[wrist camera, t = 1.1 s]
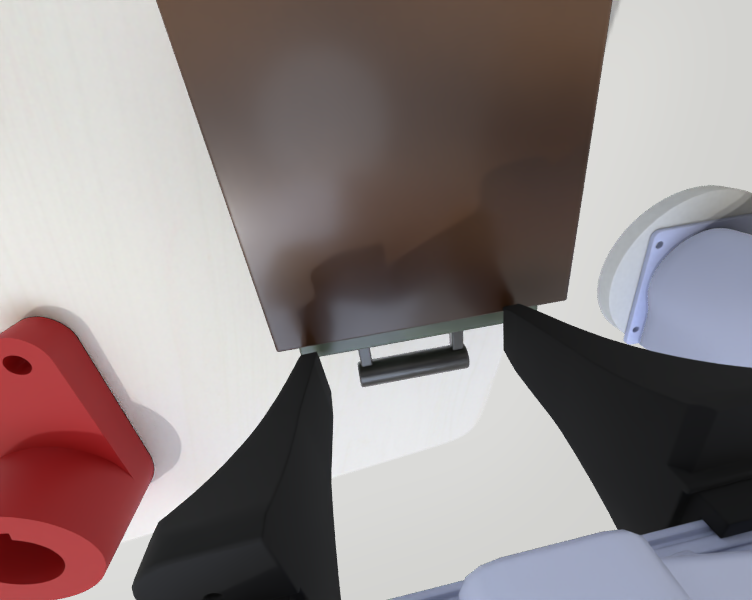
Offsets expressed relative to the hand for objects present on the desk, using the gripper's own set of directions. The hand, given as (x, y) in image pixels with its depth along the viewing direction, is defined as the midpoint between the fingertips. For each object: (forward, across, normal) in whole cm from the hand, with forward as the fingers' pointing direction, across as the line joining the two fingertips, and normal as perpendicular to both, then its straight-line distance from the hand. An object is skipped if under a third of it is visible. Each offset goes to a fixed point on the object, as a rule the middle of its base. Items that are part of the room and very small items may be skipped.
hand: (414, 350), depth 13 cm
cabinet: (+9, -1, -8) cm, 12 cm away
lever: (+10, +24, +7) cm, 27 cm away
